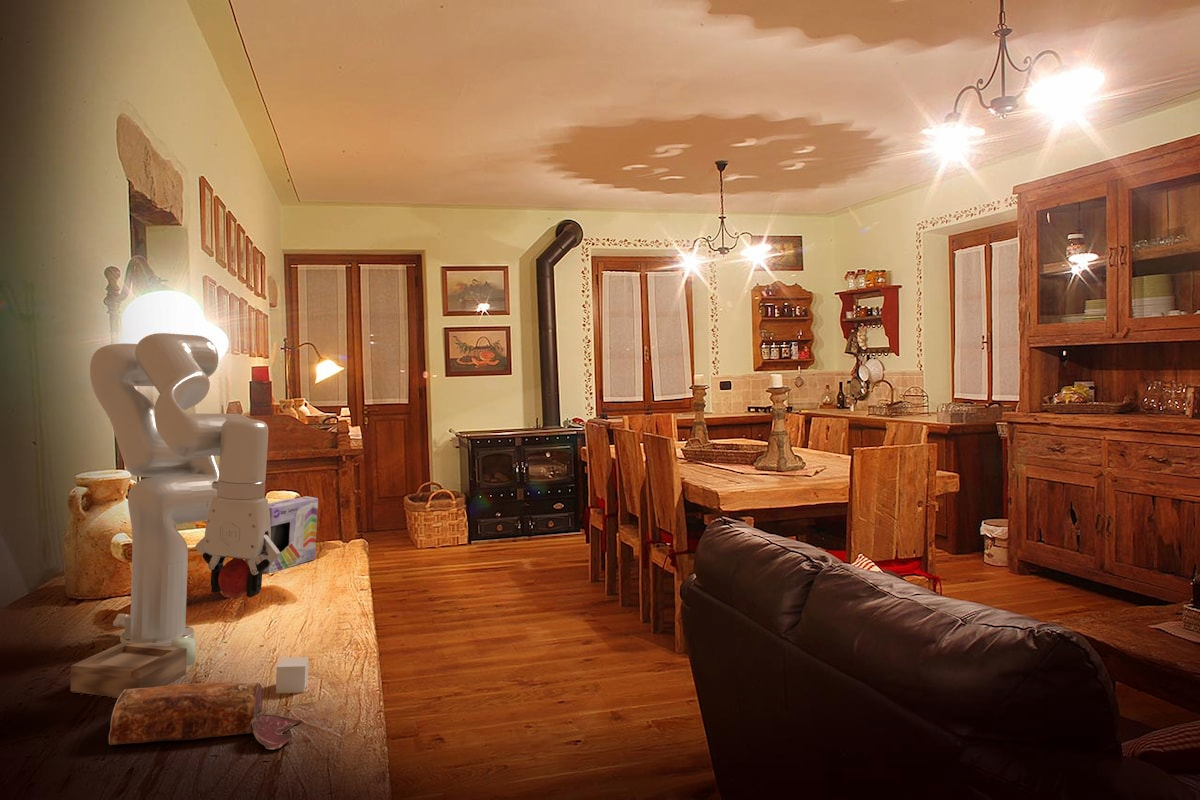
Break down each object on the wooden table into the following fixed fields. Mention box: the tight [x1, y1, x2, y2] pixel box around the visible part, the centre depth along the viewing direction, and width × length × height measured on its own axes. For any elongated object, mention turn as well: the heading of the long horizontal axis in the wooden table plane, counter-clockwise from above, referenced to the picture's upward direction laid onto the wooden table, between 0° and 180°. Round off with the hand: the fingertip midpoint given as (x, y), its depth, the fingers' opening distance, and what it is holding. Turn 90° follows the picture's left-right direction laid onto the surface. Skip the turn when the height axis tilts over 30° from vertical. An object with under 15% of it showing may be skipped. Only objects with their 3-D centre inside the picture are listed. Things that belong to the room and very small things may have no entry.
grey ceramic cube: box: [275, 656, 310, 694], centre depth 141 cm, size 4×4×4 cm
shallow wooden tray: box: [69, 642, 187, 699], centre depth 140 cm, size 12×12×4 cm
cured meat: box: [108, 681, 303, 751], centre depth 124 cm, size 18×25×7 cm
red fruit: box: [218, 558, 251, 600], centre depth 146 cm, size 6×6×8 cm
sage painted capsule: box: [170, 637, 197, 667], centre depth 150 cm, size 4×4×4 cm
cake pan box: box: [262, 495, 319, 574], centre depth 224 cm, size 19×5×18 cm, turn 159°
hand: (235, 592), depth 146 cm, fingers closed on red fruit, 5 cm apart
